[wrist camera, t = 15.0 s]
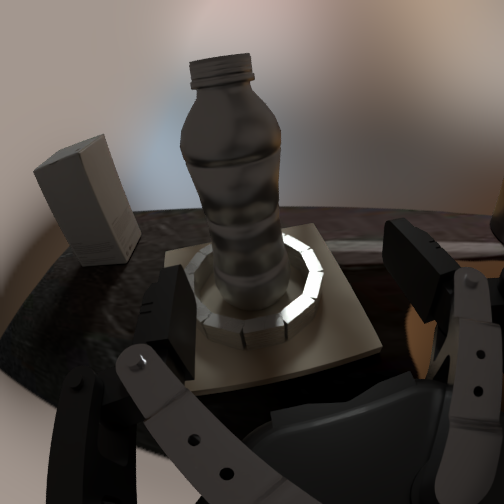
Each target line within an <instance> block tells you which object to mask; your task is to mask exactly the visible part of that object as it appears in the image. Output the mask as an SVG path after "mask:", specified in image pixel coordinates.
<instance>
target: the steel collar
mask: <svg viewBox="0 0 504 504" xmlns="http://www.w3.org/2000/svg"><path fill="white" fill-rule="evenodd" d="M282 236H283V242H284V246H285V248H286V251H287V254H288V259H289V263H290V265H291V266H292V267H294V268H295V269H297V270H298V271H300V272H301V274H302V277H303V279H304V281H305V283H306V285H305V288H304V291H303V294H302V295H301V296H300V297H298V298H297V299H296V300H295V301H293V302H292V303H291V304H290V305H288V306H287V307H286V308H284V309H283V310H282V311H281V312H279V313H277V314H272V315H268V316H263V317H258V318H253V319H248V320H239V319H235V318H231V317H227V316H223V315H219V314H215V313H212V312H211V311H210V310H209V309H208V308H207V307H206V306H205V305H204V304H203V303H202V302H201V299H200V291H201V290H202V288H203V287H204V285H205V283H206V282H207V280H208V279H209V277H210V276H211V274H212V273H213V272H214V270H213V260H214V257H213V250H212V244H209V245H208V246H206V247H204V248H202V249H201V250H199V251H200V252H197V253H196V254H195V256H194V257H193V258H192V260H191V261H190V262H189V264H188V265H187V266H186V268H185V269H184V271H185V273H186V276H187V278H188V281H189V283H190V286H191V288H192V290H193V293H194V296H195V299H196V304H197V320H196V327H197V328H198V329H199V330H200V331H201V333H202V334H203V335H204V336H205V337H206V338H207V339H210V341H211V342H214V343H218V344H221V345H225V346H228V347H232V348H236V349H239V350H243V351H244V350H245V347H246V345H247V349H248V351H250V350H255V349H260V348H264V347H269V346H274V345H278V344H283V343H285V339H286V340H287V341H289V340H290V339H292V338H293V337H294V336H295V335H296V334H298V333H299V332H300V331H301V330H302V329H304V328H305V327H306V326H307V325H308V324H309V323H311V322H312V321H313V320H314V317H315V316H316V313H317V309H318V305H319V301H320V297H321V293H322V284H323V269H322V267H321V265H320V263H319V261H318V259H317V257H316V255H315V253H314V252H313V250H312V249H310V247H309V246H307V245H306V244H304V243H302V242H300V241H299V240H297V239H295V238H293V237H291V236H290V235H286V236H285V234H284V233H282Z"/></svg>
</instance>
